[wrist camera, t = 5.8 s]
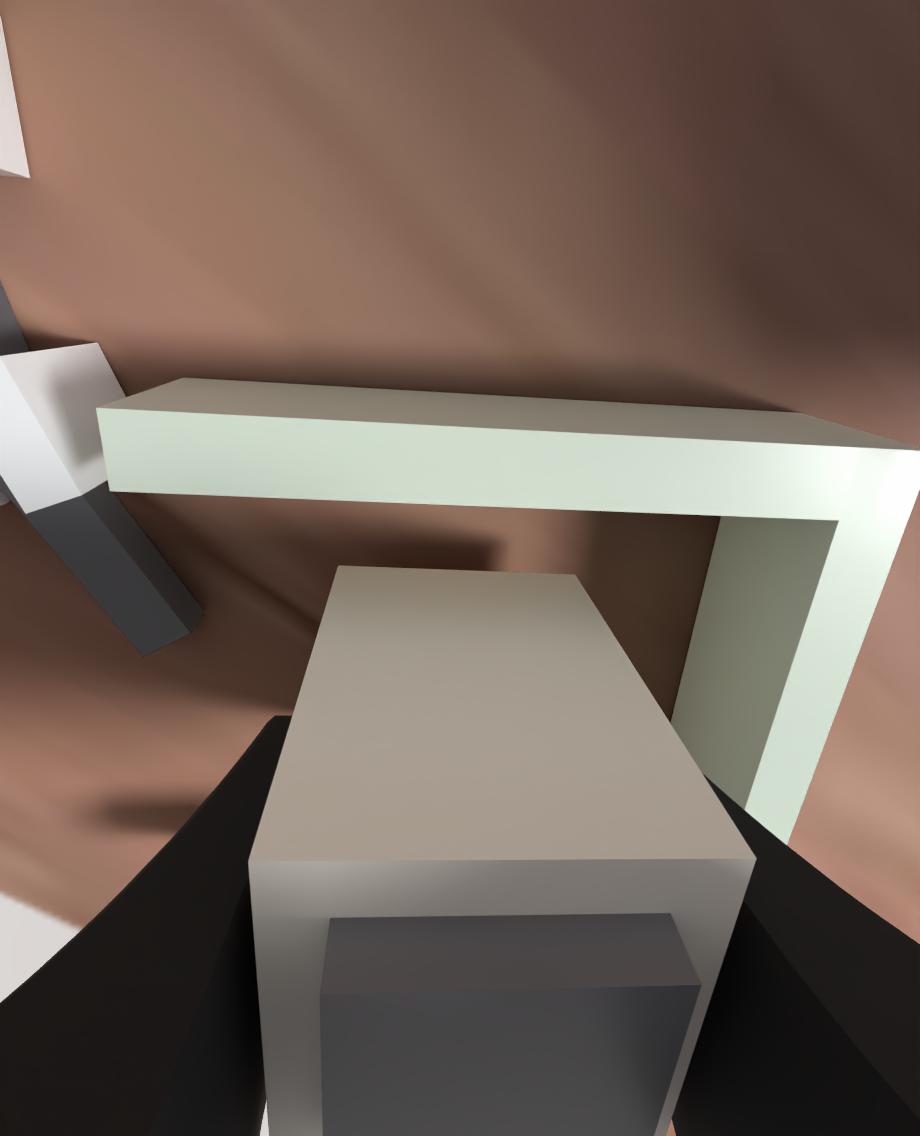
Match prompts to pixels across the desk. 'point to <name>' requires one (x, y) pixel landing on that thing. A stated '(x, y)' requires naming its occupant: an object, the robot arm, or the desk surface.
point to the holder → (597, 483)
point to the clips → (47, 383)
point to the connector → (483, 871)
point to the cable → (109, 549)
